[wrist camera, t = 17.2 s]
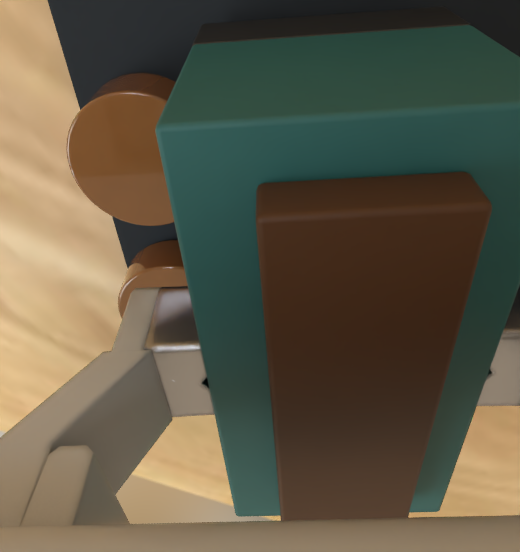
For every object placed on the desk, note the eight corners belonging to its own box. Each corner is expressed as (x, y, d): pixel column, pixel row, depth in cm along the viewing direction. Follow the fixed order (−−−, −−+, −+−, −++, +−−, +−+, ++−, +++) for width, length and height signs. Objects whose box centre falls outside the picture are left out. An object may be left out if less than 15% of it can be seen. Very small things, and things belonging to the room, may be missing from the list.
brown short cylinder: (211, 70, 10) (206, 89, 9) (222, 199, 12) (219, 225, 11) (66, 73, 10) (46, 93, 9) (100, 201, 12) (86, 227, 11)
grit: (227, 234, 12) (224, 262, 11) (241, 318, 14) (240, 348, 13) (114, 243, 13) (102, 271, 12) (142, 324, 14) (134, 354, 13)
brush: (445, 5, 9) (637, 129, 4) (392, 344, 14) (451, 552, 10) (200, 23, 9) (136, 159, 4) (243, 350, 15) (233, 556, 10)
